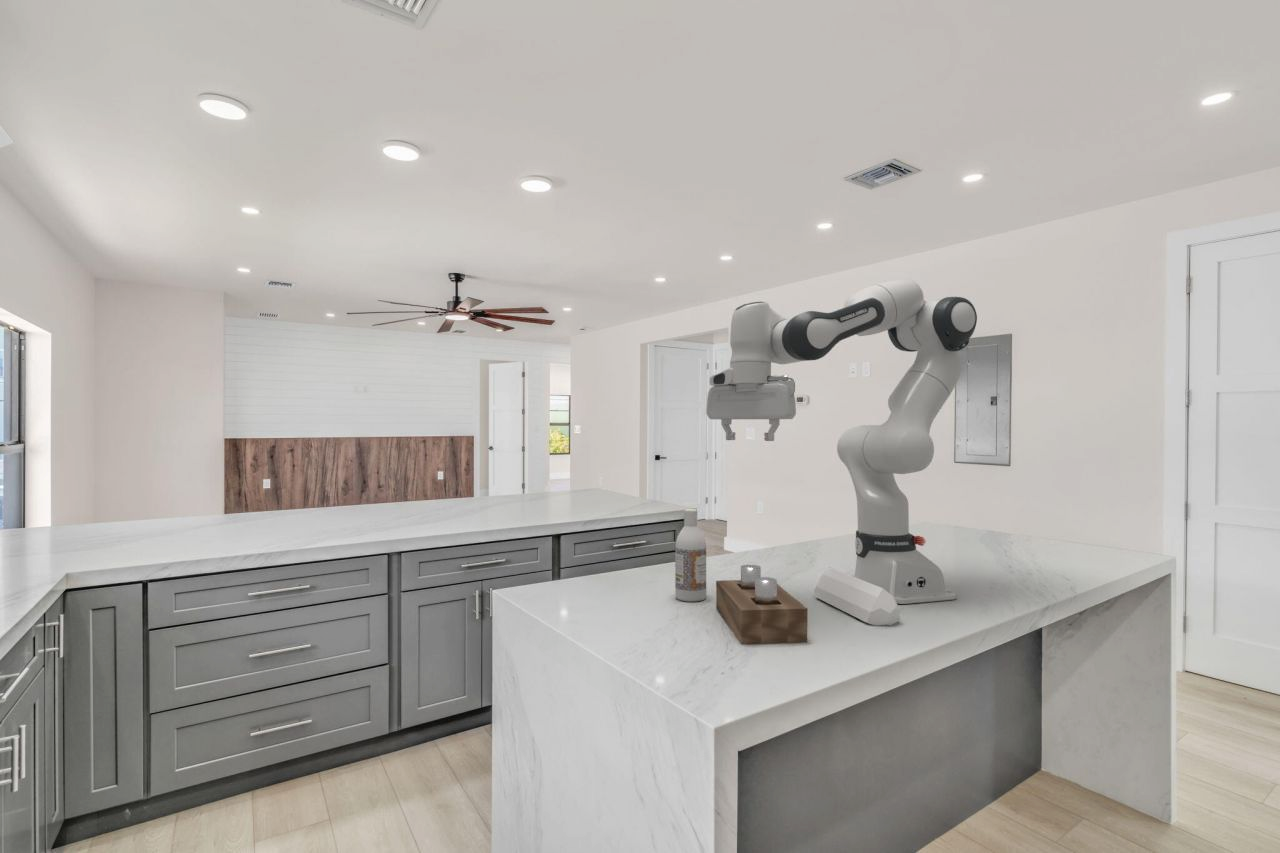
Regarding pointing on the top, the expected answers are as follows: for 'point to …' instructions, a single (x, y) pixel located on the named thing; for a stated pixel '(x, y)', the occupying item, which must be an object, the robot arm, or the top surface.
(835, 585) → the crystal
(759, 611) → the brown wooden block
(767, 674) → the top surface
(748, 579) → the peg
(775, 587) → the peg
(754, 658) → the top surface
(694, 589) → the bath foam
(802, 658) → the top surface
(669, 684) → the top surface
